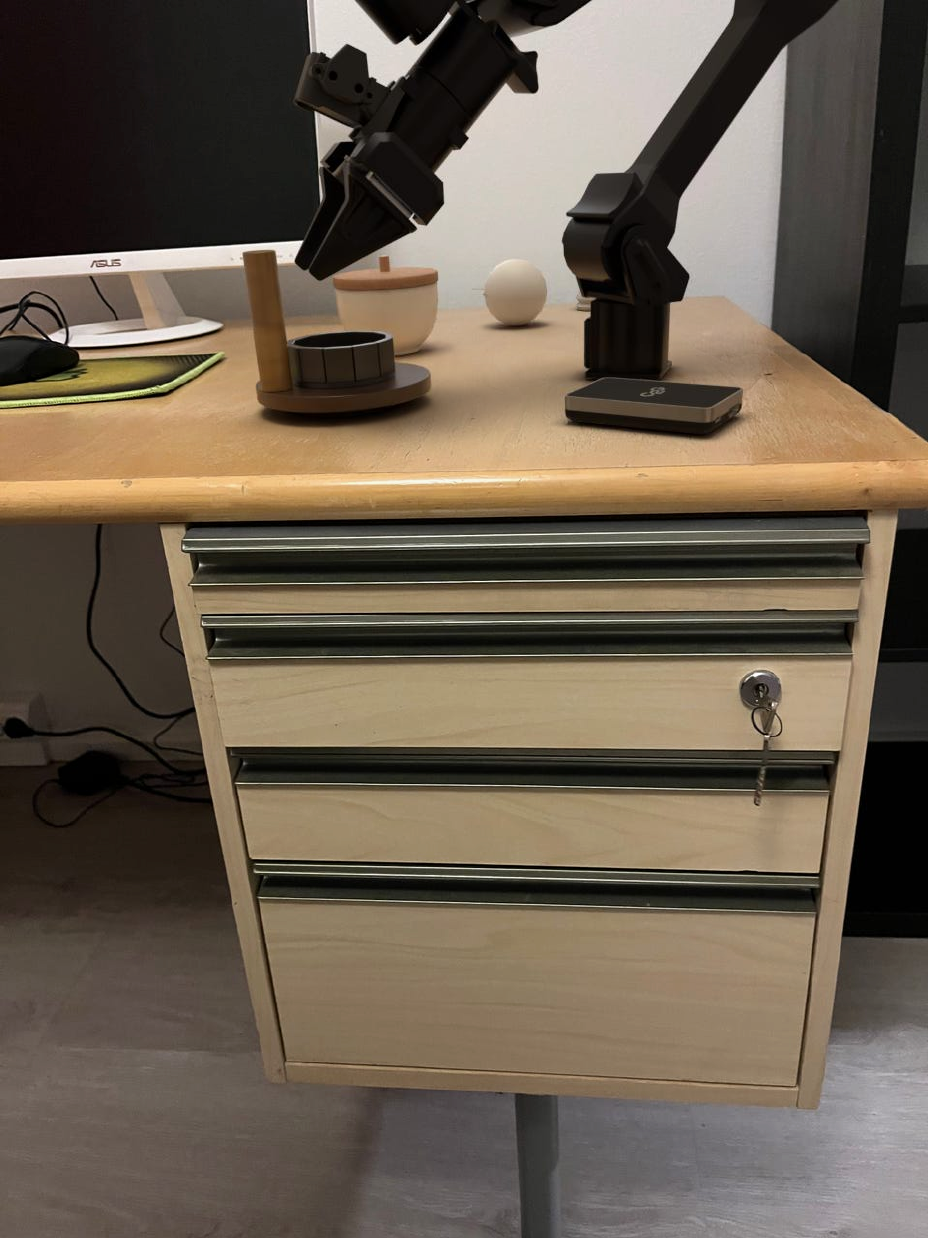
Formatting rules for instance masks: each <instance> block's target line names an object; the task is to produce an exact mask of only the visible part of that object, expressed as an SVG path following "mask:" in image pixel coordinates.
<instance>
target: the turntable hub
mask: <svg viewBox="0 0 928 1238" xmlns="http://www.w3.org/2000/svg"><path fill="white" fill-rule="evenodd" d="M393 406H394V405H390V406H385V407H379V408H373V409H366V410H357V411H346V412H329V413H304V412H299V413H300V414H302V415H305V416H308V417H309V416H310V417H318V418H345V417H356V416H362V415H369V414H374V413H378V412H382V411H385V410H387V409H389V408H391V407H393Z"/></svg>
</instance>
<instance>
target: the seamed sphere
mask: <svg viewBox="0 0 928 1238" xmlns="http://www.w3.org/2000/svg"><path fill="white" fill-rule="evenodd" d="M471 290H472V291H473V290H474V291H475V290H476V291H477V290H478V291H479V290H481V291H483V296H484V301H485V305H486V308H487V309H488V311H489V313H490V315H492V316H493V317H494V318H495V319H496V320H497V321H498V322H500V323H503V324H505V325H506V326H522V325H526V324H528V323H530V322H532V321H534V320H535V319H536V318H537V317H538V316H539V314H541V313H542V311H543V309H544V307H545V305H546V303H547V297H548V287H547V282H546V279H545V277H544V275H543V273H542V271H541V270H540V269H539V268H538V267H537V266H536V265H535V264H534V263H532V262H530V261H528V260H526V259H522V258H521V259H520V258H512V259H507V260H504V261H502V262H500V263H499V264H497V265H496V266H495V267H494V268H492V270H491V271H490V272H489V274H488V276H487V278H486V281H485V283H484V288H471Z"/></svg>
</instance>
